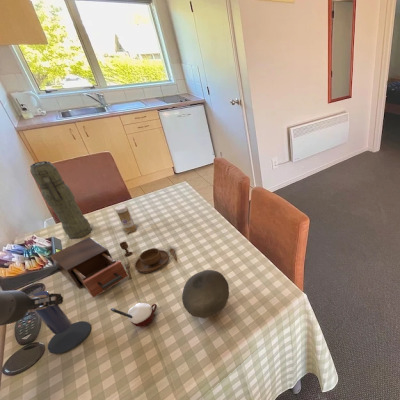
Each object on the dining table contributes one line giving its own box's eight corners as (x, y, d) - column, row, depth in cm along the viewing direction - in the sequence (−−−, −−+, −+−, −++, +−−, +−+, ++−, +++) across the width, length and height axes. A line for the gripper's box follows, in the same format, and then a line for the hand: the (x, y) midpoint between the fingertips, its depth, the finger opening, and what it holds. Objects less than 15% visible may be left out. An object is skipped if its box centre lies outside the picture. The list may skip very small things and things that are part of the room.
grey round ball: (179, 327, 82) (164, 294, 74) (202, 290, 94) (192, 259, 86) (222, 332, 80) (211, 299, 73) (240, 294, 92) (233, 263, 85)
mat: (56, 360, 73) (55, 359, 73) (42, 343, 78) (41, 341, 78) (97, 331, 81) (96, 330, 81) (82, 317, 85) (81, 315, 85)
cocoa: (158, 307, 88) (146, 282, 82) (162, 321, 84) (149, 295, 78) (125, 323, 83) (109, 297, 77) (127, 338, 79) (110, 312, 73)
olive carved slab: (71, 243, 117) (26, 170, 100) (66, 232, 124) (23, 163, 107) (95, 233, 123) (56, 163, 105) (89, 224, 130) (51, 156, 112)
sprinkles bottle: (125, 235, 122) (114, 210, 115) (126, 230, 125) (114, 206, 119) (137, 232, 124) (126, 207, 117) (137, 227, 128) (126, 203, 121)
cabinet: (116, 266, 105) (107, 249, 100) (79, 288, 95) (66, 270, 91) (99, 254, 111) (89, 237, 107) (62, 273, 102) (49, 255, 97)
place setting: (129, 283, 97) (123, 271, 94) (122, 254, 111) (116, 243, 108) (180, 261, 107) (176, 250, 104) (167, 237, 120) (163, 227, 117)
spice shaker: (56, 336, 74) (30, 306, 68) (50, 329, 76) (24, 299, 70) (74, 325, 77) (50, 294, 71) (67, 318, 79) (44, 288, 73)
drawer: (134, 280, 97) (126, 265, 94) (99, 302, 89) (89, 287, 85) (110, 263, 105) (102, 249, 102) (75, 282, 97) (66, 267, 93)
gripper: (33, 283, 61) (80, 282, 77) (-49, 300, 57) (18, 295, 73) (33, 317, 59) (81, 308, 75) (-52, 337, 55) (18, 324, 71)
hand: (50, 302), depth 74 cm, fingers closed on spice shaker, 4 cm apart
